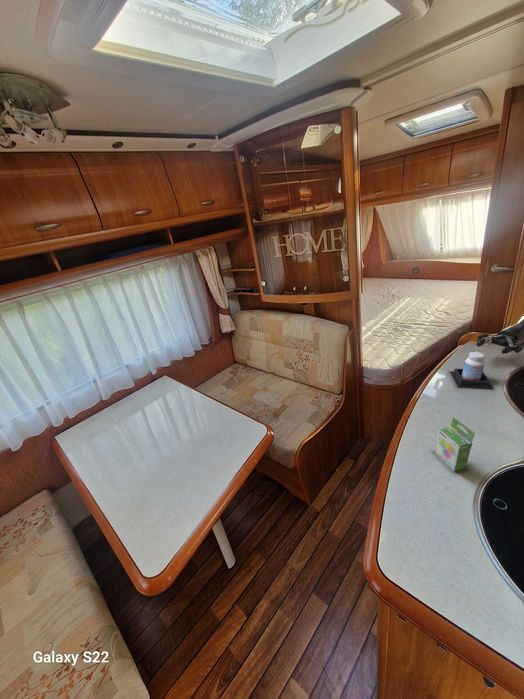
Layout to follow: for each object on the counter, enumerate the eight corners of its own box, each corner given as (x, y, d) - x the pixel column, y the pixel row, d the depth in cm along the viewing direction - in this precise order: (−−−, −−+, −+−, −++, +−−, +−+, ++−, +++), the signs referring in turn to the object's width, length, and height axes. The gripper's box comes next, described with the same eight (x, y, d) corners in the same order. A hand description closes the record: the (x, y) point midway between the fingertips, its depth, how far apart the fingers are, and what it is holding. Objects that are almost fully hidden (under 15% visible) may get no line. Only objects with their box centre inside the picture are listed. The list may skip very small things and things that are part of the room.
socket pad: (481, 374, 111) (483, 368, 110) (492, 390, 102) (494, 383, 100) (450, 373, 115) (451, 367, 113) (457, 388, 105) (459, 382, 104)
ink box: (434, 453, 81) (441, 419, 75) (446, 450, 81) (453, 416, 75) (453, 472, 75) (462, 437, 69) (465, 469, 75) (475, 433, 69)
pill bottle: (465, 383, 106) (471, 358, 101) (458, 375, 111) (463, 351, 106) (483, 383, 104) (490, 357, 100) (475, 374, 110) (481, 350, 105)
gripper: (494, 322, 117) (472, 333, 111) (537, 332, 105) (515, 345, 99) (490, 338, 120) (468, 350, 114) (531, 349, 108) (509, 362, 102)
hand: (490, 347), depth 107 cm, fingers open, 8 cm apart
